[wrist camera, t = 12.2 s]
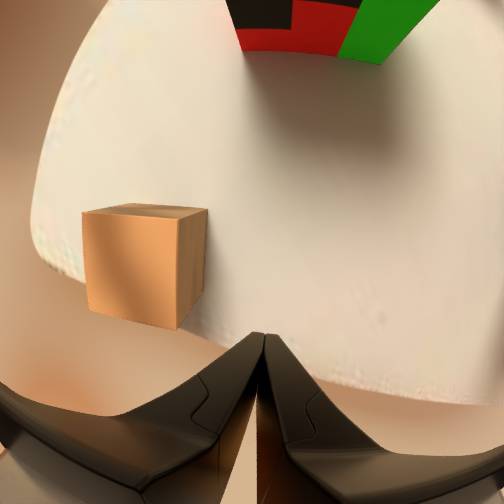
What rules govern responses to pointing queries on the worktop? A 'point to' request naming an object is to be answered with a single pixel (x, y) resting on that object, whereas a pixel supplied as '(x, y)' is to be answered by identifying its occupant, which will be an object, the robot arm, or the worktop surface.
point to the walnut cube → (144, 261)
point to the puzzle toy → (327, 26)
